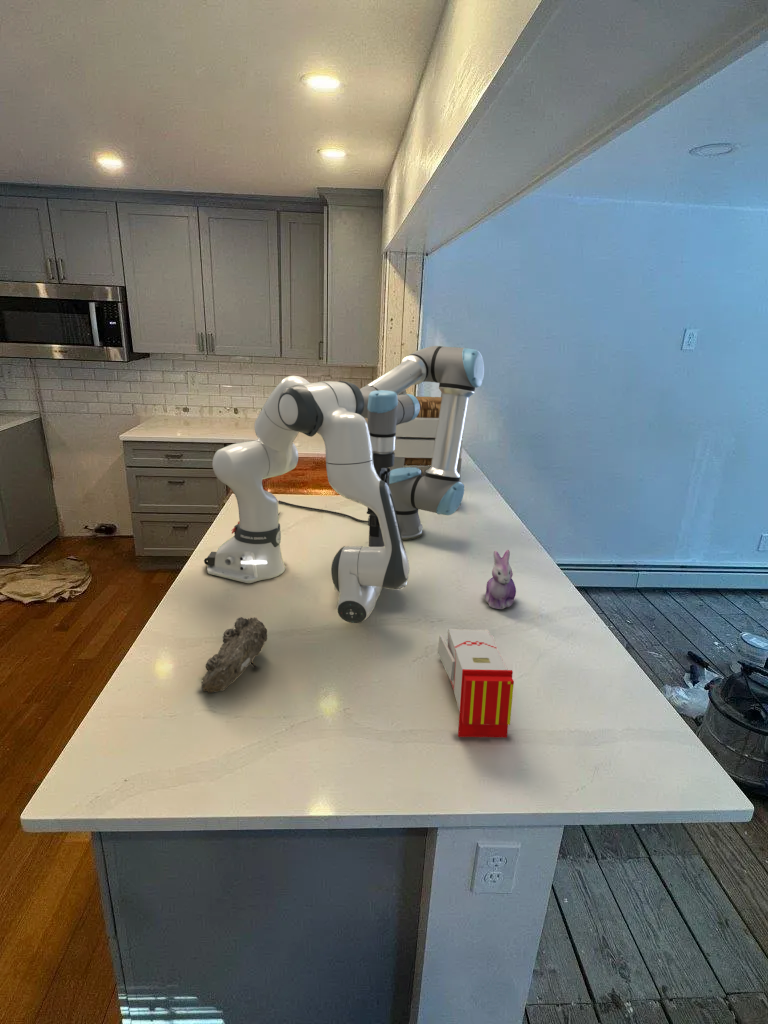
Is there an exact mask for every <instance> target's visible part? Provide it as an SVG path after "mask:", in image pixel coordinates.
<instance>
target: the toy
mask: <svg viewBox="0 0 768 1024" xmlns="http://www.w3.org/2000/svg"><path fill="white" fill-rule="evenodd" d="M446 640H447V643H446V641H445V639H444V636H443V635H442V634H439V637H438V646H437V656H438V657H439V659H440V661H441V663H442V666H443V668H444V670H445V672H446V674H447V677H448V679H449V681H450V684H451V687H452V690H453V693H454V697H455V701H456V705H457V708H458V711H459V714H458V715H459V716H458V730H457V731H458V732H457V737H458V738H508V731H509V726H510V725H511V717H512V707H513V697H514V696H513V695H514V684H515V680H514V679H513V673H514V671H513V670H512V669H508V667H507V665H506V662H505V661H504V659H503V658H502V655H501V653H500V651H499V649H498V647H497V643H496V639H495V637H494V635H493V634H491V632H490V631H489V629H467V628H466V629H465V628H463V629H461V628H460V629H459V628H448V630H447V639H446Z"/></svg>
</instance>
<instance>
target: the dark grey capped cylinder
mask: <svg viewBox="0 0 768 1024" xmlns="http://www.w3.org/2000/svg"><path fill="white" fill-rule="evenodd" d="M368 527H370V526H369V525H368ZM383 546H384V541H383V537H382V533H381V528H380V534H379V537H372V536H369V535H368V547H383Z"/></svg>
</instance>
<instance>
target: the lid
mask: <svg viewBox="0 0 768 1024" xmlns="http://www.w3.org/2000/svg"><path fill="white" fill-rule="evenodd" d="M367 521H368V523H367V525H368V527H369V526H370V514H368V517H367Z"/></svg>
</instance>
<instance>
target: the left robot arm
mask: <svg viewBox="0 0 768 1024" xmlns="http://www.w3.org/2000/svg"><path fill="white" fill-rule="evenodd" d="M360 389H361V388H359V386H358V385H356V384H355V383H353V382H349V381H344V380H338V381H331V380H330V381H329V380H324V381H323V380H321V381H316V382H310V381H309V380H307V379H306V378H304V377H302V376H300V375H289V376H286V377H284V378H283V379H282V380H281V381H280V382H279V383H278V384H277V385H276V387H275V388H274V389H273V390H272V391H271V393H270V394H269V396H268V397H267V399H266V401H265V402H264V404H263V406H262V407H261V410H260V411H259V414H258V415H257V417H256V419H255V421H254V432H255V435H256V437H257V438H256V439H253V440H249V441H243V442H242V441H241V442H237V443H236V442H235V443H232V444H229V445H226V446H224V447H222V448H219V449H217V451H216V452H215V453H214V455H213V457H212V463H211V464H212V470H213V473H214V475H215V477H216V478H217V480H218V481H220V482H221V483H222V484H224V485H225V486H227V487H228V488H229V489H230V490H231V491H232V492H233V494H234V497H235V499H236V502H237V508H238V519H239V521H237V523H236V525H234V526H233V528H232V529H231V530H230V531H231V535H232V534H234V535H233V536H231V537H230V538H229V539H227V540H226V541H225V542H224V543H222V544H220V546H219V547H218V548H217V550H216V551H210V553H209V554H208V556H207V557H206V558H204V560H203V562H204V564H205V565H206V566H207V568H206V572H207V574H209V575H213V576H216V577H221V578H225V579H229V580H233V581H237V582H241V583H244V584H252V583H256V582H259V581H263V580H270V579H274V578H276V577H278V576H280V575H282V574H283V573H284V572H285V570H286V566H285V562H284V560H283V555H282V548H281V542H282V541H281V539H282V532H281V524H280V521H279V516H278V514H279V502H278V501H279V500H278V499H277V496H276V495H274V494H273V493H272V492H270V491H267V490H265V489H264V487H263V480H266V479H271V478H275V477H279V476H282V475H285V474H286V473H289V472H291V471H292V470H294V469H295V468H296V467H297V465H298V463H299V450H298V448H297V446H296V444H295V443H294V442H295V440H296V438H297V436H299V434H300V433H302V434H304V435H305V436H307V437H310V438H312V437H314V436H315V435H316V434H318V435H319V436H320V437H321V438H322V440H323V442H324V449H325V467H326V468H325V469H326V477H327V481H328V483H329V485H330V487H331V488H332V489H333V490H334V491H335V493H337V494H338V495H339V496H341V497H343V498H345V499H347V500H350V501H352V502H355V503H357V504H359V505H362V506H365V507H366V508H367V509H368V508H370V509H371V510H372V511H374V513H375V514H376V515H377V517H378V520H379V524H380V528H381V533H382V537H383V541H384V546H383V547H369V546H363V545H343V546H342V547H340V549H339V550H338V551H337V552H336V554H334V557H333V559H332V563H331V579H332V583H333V586H334V587H333V588H334V591H336V592H338V599H337V604H336V611H337V615H338V616H339V617H340V619H342V620H343V621H344V622H347V623H349V624H361V623H363V622H365V621H366V620H367V619H368V618H369V617H370V616H371V614H372V612H373V611H374V609H375V607H376V604H377V600H378V599H379V597H380V594H381V592H382V589H389V590H397V591H398V590H402V589H403V588H406V587H407V584H408V581H409V575H410V562H409V558H408V555H407V551H406V548H405V545H404V542H403V541H404V540H402V537H401V532H400V528H399V523H398V519H397V514H396V510H395V506H394V502H393V498H392V494H391V491H390V489H389V486H388V484H387V483H386V482H384V481H382V480H381V479H380V478H379V476H378V474H377V473H376V470H375V467H374V463H373V450H372V443H371V437H370V432H369V428H368V420H366V418H364V417H363V416H361V415H362V413H363V409H364V398H363V395H362V392H361V390H360Z"/></svg>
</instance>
